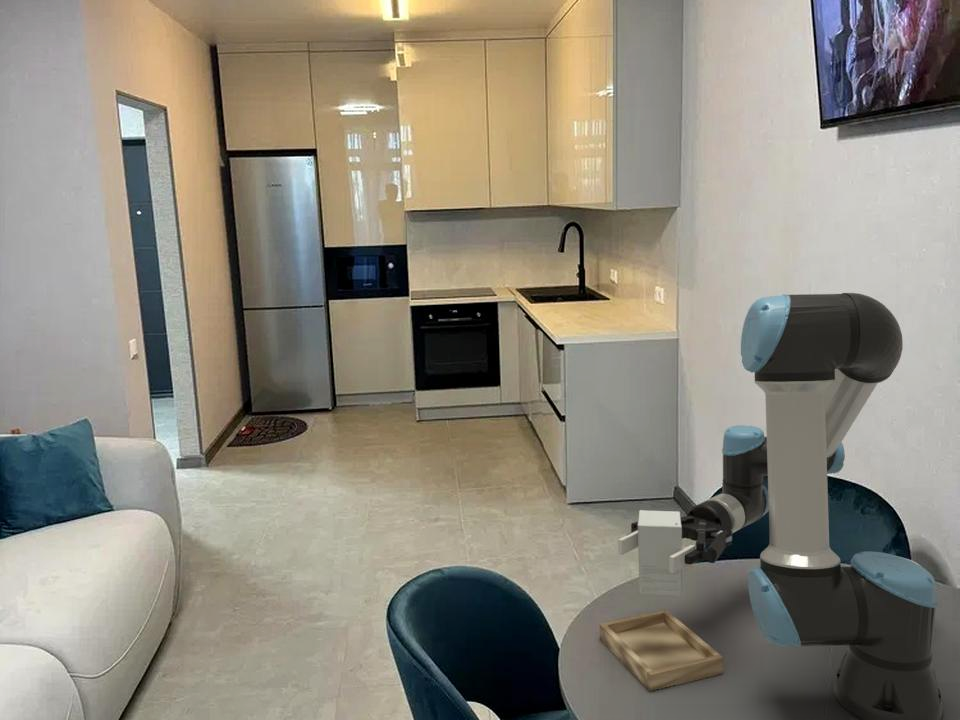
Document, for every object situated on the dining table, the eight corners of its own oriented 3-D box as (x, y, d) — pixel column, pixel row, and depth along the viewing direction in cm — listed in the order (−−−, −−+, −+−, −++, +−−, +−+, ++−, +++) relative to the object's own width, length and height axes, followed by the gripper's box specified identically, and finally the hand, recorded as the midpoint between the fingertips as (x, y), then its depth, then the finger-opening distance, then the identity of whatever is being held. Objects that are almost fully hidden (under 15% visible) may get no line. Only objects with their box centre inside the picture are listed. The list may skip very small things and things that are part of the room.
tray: (722, 673, 133) (723, 657, 133) (650, 691, 129) (650, 675, 128) (665, 623, 150) (665, 609, 150) (599, 638, 146) (599, 623, 145)
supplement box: (681, 577, 141) (681, 510, 138) (682, 597, 134) (682, 526, 131) (639, 575, 142) (638, 508, 140) (637, 594, 135) (637, 524, 133)
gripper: (770, 554, 141) (702, 597, 126) (665, 522, 157) (593, 557, 143) (771, 514, 140) (703, 553, 125) (665, 487, 156) (593, 518, 141)
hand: (644, 555), depth 134 cm, fingers closed on supplement box, 10 cm apart
